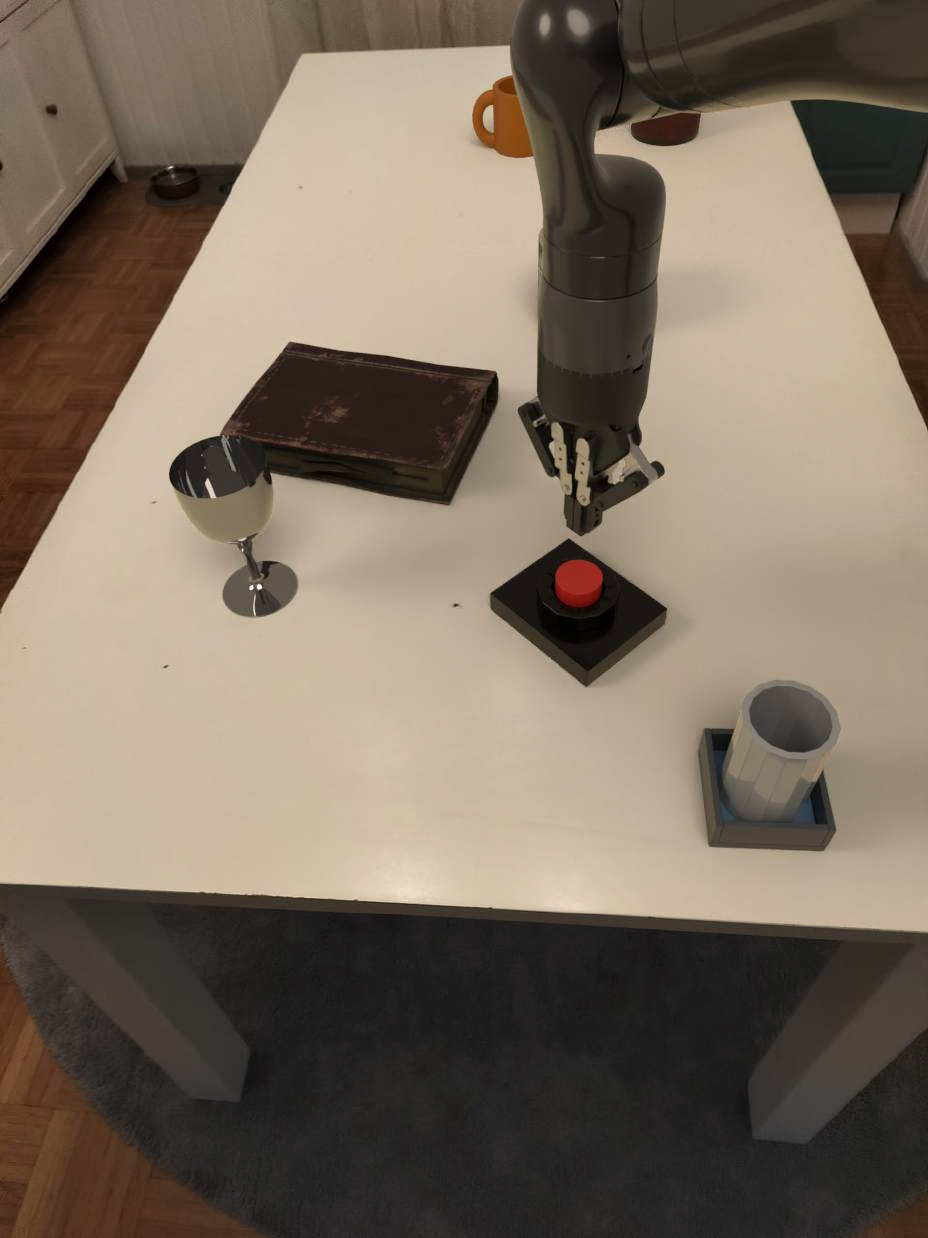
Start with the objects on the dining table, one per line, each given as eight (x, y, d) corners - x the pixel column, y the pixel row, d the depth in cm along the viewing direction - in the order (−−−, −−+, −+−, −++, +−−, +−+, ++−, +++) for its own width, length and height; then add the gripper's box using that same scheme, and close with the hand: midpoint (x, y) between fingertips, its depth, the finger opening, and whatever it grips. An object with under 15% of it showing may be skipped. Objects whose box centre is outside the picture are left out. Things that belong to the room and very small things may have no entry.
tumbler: (796, 758, 68) (831, 681, 60) (809, 832, 64) (847, 761, 56) (713, 754, 68) (737, 677, 61) (721, 827, 64) (747, 756, 57)
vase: (683, 150, 139) (703, -3, 123) (620, 139, 142) (631, -11, 127) (708, 124, 144) (730, -25, 129) (646, 114, 148) (660, -32, 133)
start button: (611, 590, 76) (612, 576, 75) (578, 615, 74) (579, 601, 73) (577, 566, 78) (578, 552, 77) (545, 589, 77) (545, 576, 75)
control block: (665, 624, 78) (670, 594, 75) (586, 687, 74) (588, 658, 71) (567, 554, 84) (569, 523, 81) (490, 609, 80) (488, 579, 77)
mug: (480, 132, 147) (478, 72, 140) (552, 134, 145) (553, 73, 138) (469, 156, 142) (466, 94, 135) (543, 158, 139) (544, 96, 133)
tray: (804, 753, 69) (814, 730, 66) (824, 851, 64) (836, 831, 61) (697, 750, 70) (703, 727, 67) (708, 847, 64) (716, 826, 62)
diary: (299, 372, 106) (291, 334, 102) (499, 402, 100) (498, 363, 96) (226, 471, 95) (214, 434, 91) (446, 512, 89) (443, 474, 85)
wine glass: (246, 634, 80) (199, 513, 68) (202, 587, 84) (150, 465, 72) (318, 589, 83) (284, 465, 71) (272, 545, 87) (233, 422, 75)
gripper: (484, 319, 59) (491, 509, 72) (632, 404, 52) (611, 596, 66) (563, 277, 62) (556, 466, 75) (713, 352, 55) (677, 546, 69)
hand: (582, 527), depth 70 cm, fingers closed
